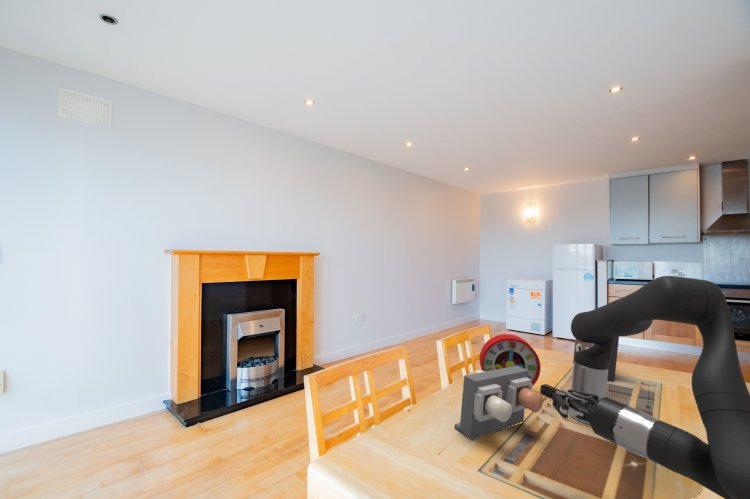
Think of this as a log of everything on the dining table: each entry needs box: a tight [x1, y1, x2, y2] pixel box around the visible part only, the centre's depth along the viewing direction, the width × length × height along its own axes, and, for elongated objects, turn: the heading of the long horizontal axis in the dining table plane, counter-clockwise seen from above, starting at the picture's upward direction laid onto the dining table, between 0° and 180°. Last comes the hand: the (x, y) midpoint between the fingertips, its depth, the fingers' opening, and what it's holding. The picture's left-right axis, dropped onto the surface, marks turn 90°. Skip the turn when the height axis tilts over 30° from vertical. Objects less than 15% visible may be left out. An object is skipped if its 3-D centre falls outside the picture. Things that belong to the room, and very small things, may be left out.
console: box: [454, 366, 534, 441], centre depth 99 cm, size 22×8×16 cm, turn 120°
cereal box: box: [572, 336, 620, 382], centre depth 149 cm, size 17×5×24 cm, turn 10°
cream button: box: [485, 395, 512, 422], centre depth 90 cm, size 4×5×5 cm
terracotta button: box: [517, 388, 544, 414], centre depth 96 cm, size 4×5×5 cm
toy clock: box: [479, 333, 542, 387], centre depth 125 cm, size 20×6×20 cm, turn 80°
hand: (542, 388), depth 79 cm, fingers closed
